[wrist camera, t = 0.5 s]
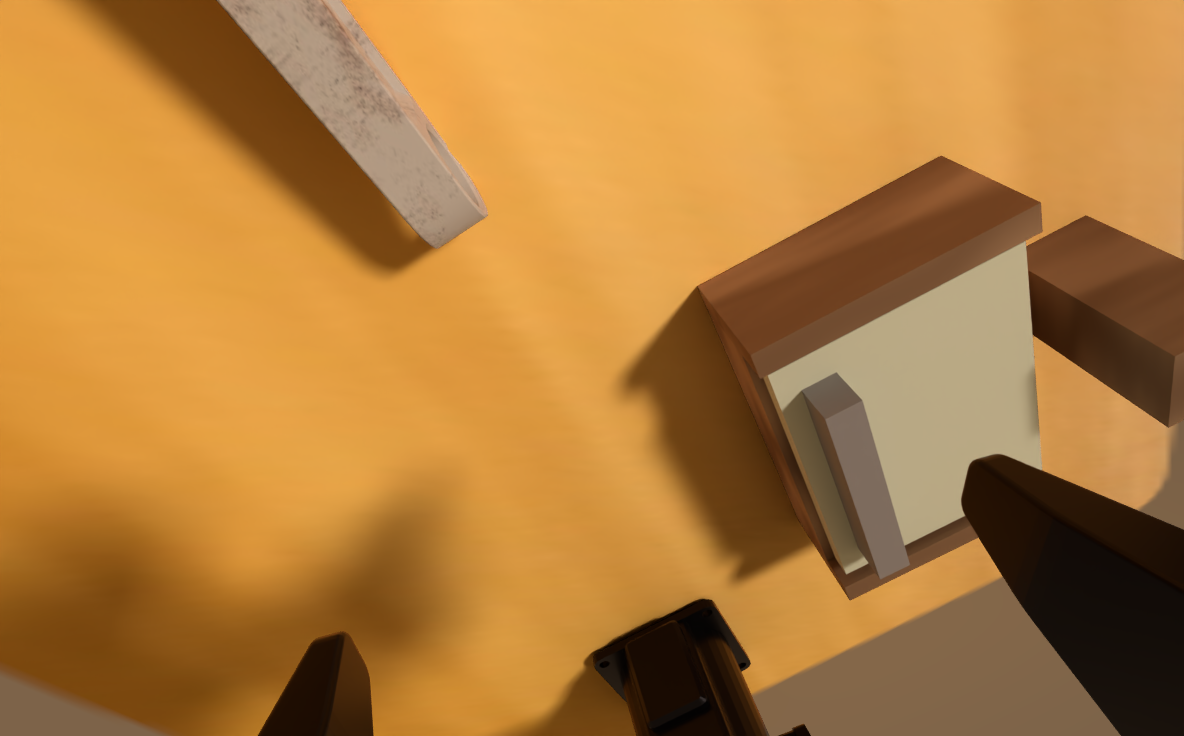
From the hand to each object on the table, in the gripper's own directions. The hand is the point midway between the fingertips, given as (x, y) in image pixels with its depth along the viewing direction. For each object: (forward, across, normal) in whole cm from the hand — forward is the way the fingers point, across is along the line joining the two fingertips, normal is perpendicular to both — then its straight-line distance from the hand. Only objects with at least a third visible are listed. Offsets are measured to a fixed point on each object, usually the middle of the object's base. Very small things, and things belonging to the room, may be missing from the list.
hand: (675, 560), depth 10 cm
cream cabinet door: (+10, -12, +9) cm, 18 cm away
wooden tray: (+14, -12, +9) cm, 20 cm away
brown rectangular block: (+14, -19, +6) cm, 24 cm away
